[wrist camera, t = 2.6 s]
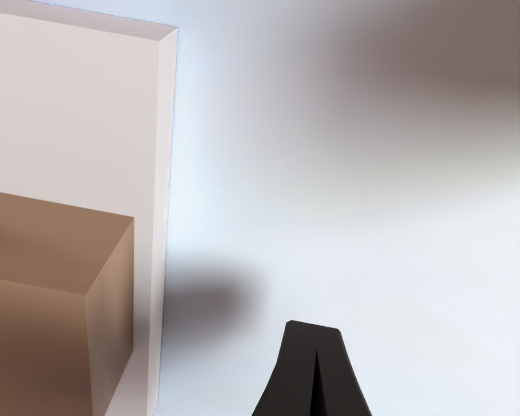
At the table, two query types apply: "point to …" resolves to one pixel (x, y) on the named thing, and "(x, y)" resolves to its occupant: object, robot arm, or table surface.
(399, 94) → the table surface
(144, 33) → the beige board
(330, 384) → the robot arm
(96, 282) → the brown square block
